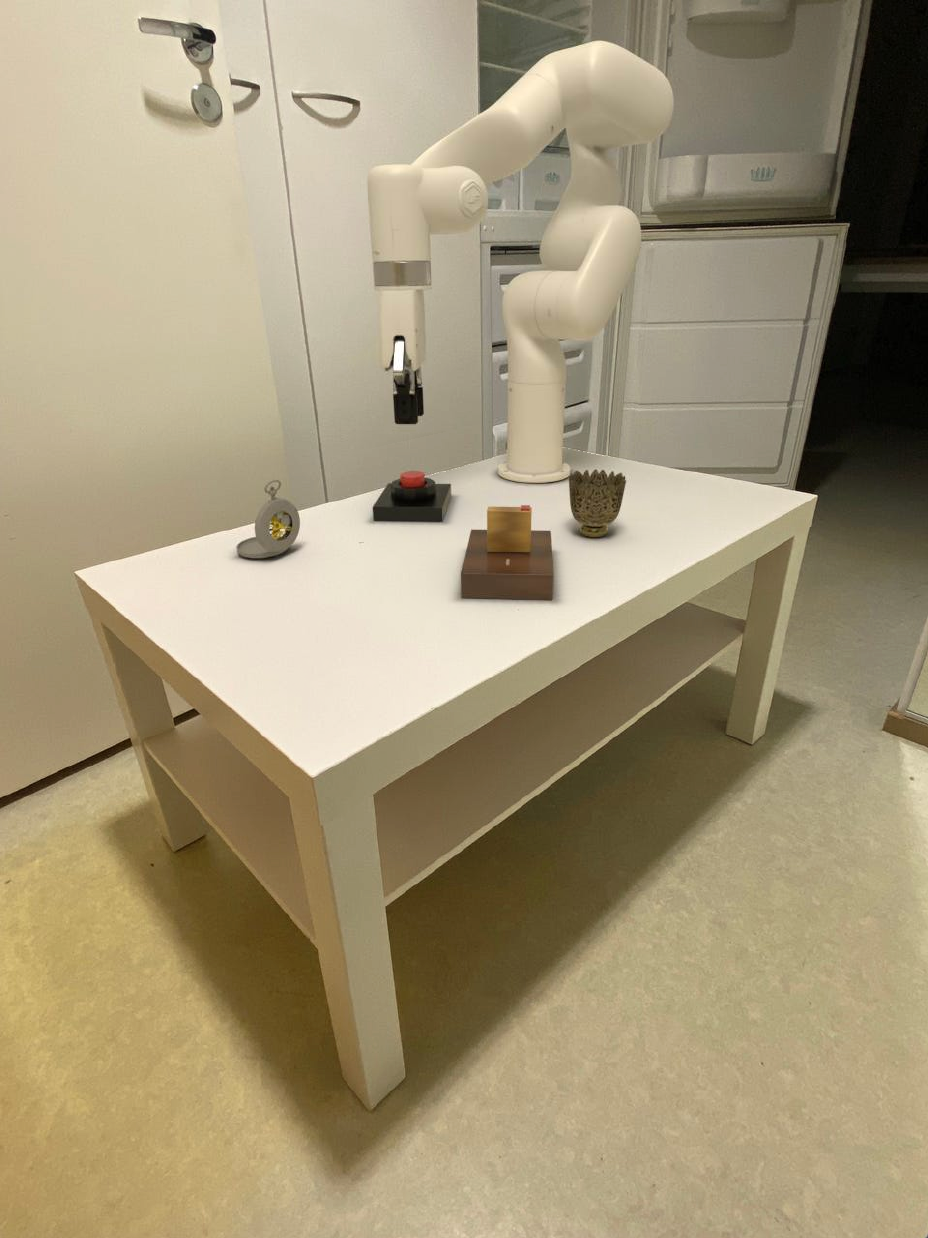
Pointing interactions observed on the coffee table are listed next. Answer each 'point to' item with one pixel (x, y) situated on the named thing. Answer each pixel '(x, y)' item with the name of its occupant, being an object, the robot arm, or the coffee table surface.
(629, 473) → the coffee table surface
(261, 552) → the pocket watch
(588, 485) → the cup
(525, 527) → the lock turn
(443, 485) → the black button mount
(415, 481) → the bell button
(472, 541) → the plate
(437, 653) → the coffee table surface
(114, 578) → the coffee table surface
